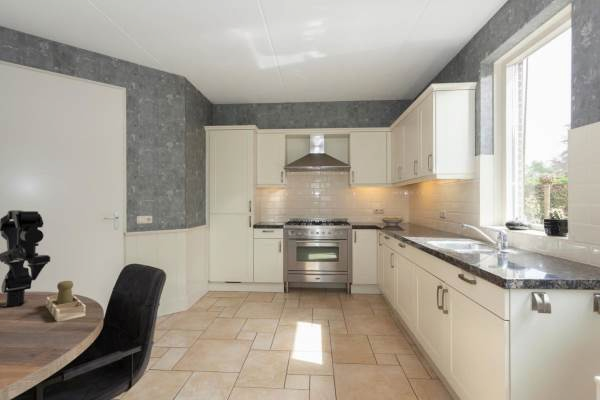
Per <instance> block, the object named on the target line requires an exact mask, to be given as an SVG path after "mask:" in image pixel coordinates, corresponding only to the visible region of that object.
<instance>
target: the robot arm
mask: <svg viewBox="0 0 600 400" xmlns="http://www.w3.org/2000/svg"><path fill="white" fill-rule="evenodd" d="M43 226H44V221H43V217H42V215H41V214H40V213H39V212H38V211H36V210H32V211H31V210H30V211H29V210H26V211H25V210H8V211H7V214H6V215H4V216H3V217H1V218H0V236H1V237H2V238H3V239H4V240H5V241H6V248H7V250H6V251H4V252H3V251H2V252H1V253H0V262H1V263H3V264H5V265H6V266H8V272H7V273H6V274H5V277H4V279H3V281H2V284H1V288H0V290H1V293H3V294H6V303H5V304H4V305H2V308H9V307H18V306H24V305H25V304H26V303H27V302H28V301H29V300H27V299H25V297H26V293H25V292H26V290H31V288H32V284H33V283H32V282H33V281H36V280H37V279H38V277H39V275H40V273H41V272H42V271H43V269H44V268H45V266H46V265H48V263H50V262H51V256H50V255H48V254H39V253H38V252H36V249H37V248H36V247H38V246H39V245H40V244H39V243H40V242H41V241H42V240H43V239H44V233H43V231H42V230H40V229H41V228H43ZM38 228H40V229H38ZM25 261H26V262H27V263H28V264H27V266H28V267H29V268H30V270H29V268H28V267H25V266H24V264H25Z"/></svg>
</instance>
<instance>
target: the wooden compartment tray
mask: <svg viewBox="0 0 600 400" xmlns="http://www.w3.org/2000/svg"><path fill="white" fill-rule="evenodd" d="M57 297H58V294H57V295H56V294H55V295H50V296H46V298H45V307H46V308H47V310H48V311H49V312H50V314H51V315H52V317H53V318H54V320H55V321H56V322H57V323H58V322H63V321H68V320H72V319H77V318H82V317H86V304H84V303H83V301H81V300H80V299H79V298H78V297H77V296H76V295H75V294H74V293H72V297H73V302H71V303H66V304H60V305H56V302H57Z"/></svg>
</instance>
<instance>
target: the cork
mask: <svg viewBox="0 0 600 400" xmlns="http://www.w3.org/2000/svg"><path fill="white" fill-rule="evenodd" d="M73 286H74V283H73V281H71V280H63V281H59V282H58V283H57V286H56V287H57V290H58V293H57V295H58V297H57V302H56V305H60V304H66V303H71V302H73V297H72V294H73V291H72V288H74V287H73Z"/></svg>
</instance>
